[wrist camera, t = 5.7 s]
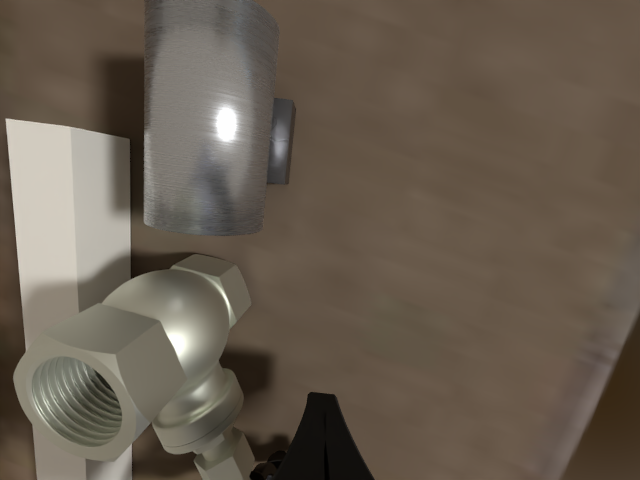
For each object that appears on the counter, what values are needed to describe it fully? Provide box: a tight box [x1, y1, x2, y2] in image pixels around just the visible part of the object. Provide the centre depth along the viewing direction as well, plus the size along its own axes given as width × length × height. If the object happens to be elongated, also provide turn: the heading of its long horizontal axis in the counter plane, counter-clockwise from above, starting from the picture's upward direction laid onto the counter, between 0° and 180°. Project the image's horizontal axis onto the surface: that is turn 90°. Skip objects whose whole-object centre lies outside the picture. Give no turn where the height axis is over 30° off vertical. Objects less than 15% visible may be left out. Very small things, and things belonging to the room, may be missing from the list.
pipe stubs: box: [144, 0, 296, 236], centre depth 12 cm, size 27×4×5 cm, turn 173°
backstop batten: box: [6, 119, 132, 480], centre depth 13 cm, size 22×2×3 cm, turn 173°
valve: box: [13, 254, 286, 480], centre depth 11 cm, size 7×7×12 cm
